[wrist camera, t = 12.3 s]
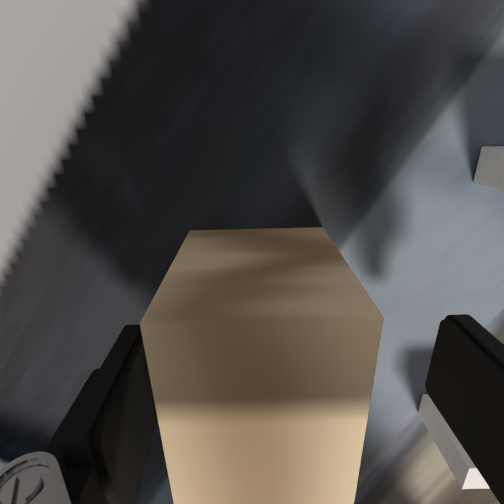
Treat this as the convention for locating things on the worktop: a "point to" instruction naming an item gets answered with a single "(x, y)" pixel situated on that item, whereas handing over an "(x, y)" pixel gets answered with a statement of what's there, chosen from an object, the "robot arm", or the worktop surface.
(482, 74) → the worktop surface
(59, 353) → the worktop surface
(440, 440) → the channel
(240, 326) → the oak block
